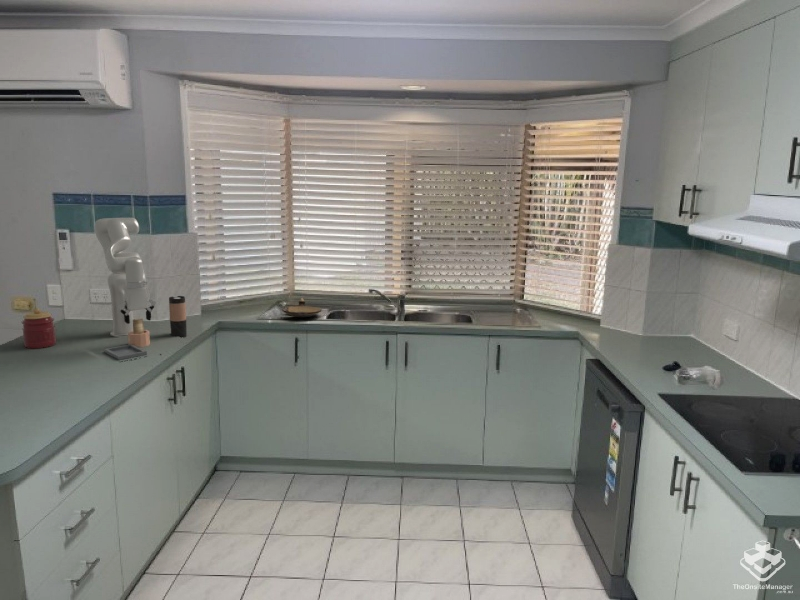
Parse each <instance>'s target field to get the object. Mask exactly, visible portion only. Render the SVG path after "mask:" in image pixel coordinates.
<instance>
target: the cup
mask: <svg viewBox="0 0 800 600" xmlns="http://www.w3.org/2000/svg"><path fill="white" fill-rule="evenodd" d="M150 336H151V334H150V330H148V329H144V333H143V334H134V333H133V331H130V332H128V335H127V339H128V343H127V345H129V344H132V345H134V346H136V347H138V348H143V347H144V348H145V347H147V346H150V345H151V337H150Z"/></svg>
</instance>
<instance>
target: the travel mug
mask: <svg viewBox="0 0 800 600" xmlns="http://www.w3.org/2000/svg"><path fill="white" fill-rule="evenodd" d="M168 303H169V304H168V305H169V306H168V307H169V324H170V325H169V326H170V336H173V337H179V338H182V337H183V338H185V337H187V336H188V335H187V332H188V331H187V311H186V308H187V307H186V297H185V296H183V295H178V296H175V297H174V296H170V297H169V298H168Z"/></svg>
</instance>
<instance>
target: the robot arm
mask: <svg viewBox="0 0 800 600" xmlns="http://www.w3.org/2000/svg"><path fill="white" fill-rule="evenodd" d="M139 231H140V224H139V222H138V220H137V219H136V218H135V217H108V218H106V217H103V218H100V219H99V218H98V219H97V220H96V221H95V222H94V234H95V236H96V238H97V240H98V241H99V244H100V245H101V247H102V249H103V252H104V253H103V255H104V258H105V261H106V265H107V269H108V270H109V271H110V272H111V274H109V275H108V277H107V285H108V289H109V295H110V303H111V313H112V315H111V316H112V326H113V328H112V329H113V330H112V331H110V336H111V337H115V338H116V337H117V338H120V337H126V336H127V337H128V332H130V331H133V319H135V318H134V311H139V310H140V311H141V310H145V319H146V320H147V321H149V322H150V321H151V320H152V312H153V309H154V308H155V306H156V303H157V302H156V301H154V300H152V299H150V298H149V294H148V291H147V288H146V287H147V285H148V282H147V276H146V273H145V269H144V264H143V263H144V262H143V260H142V258H141V255H140V254H139V253H137V252H135V251H129V252H127V251H125V250H128V249H129V247H131V245H132V239H131V236H130V235H133V236H134V235H135V236H136V235H138V233H139Z"/></svg>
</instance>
